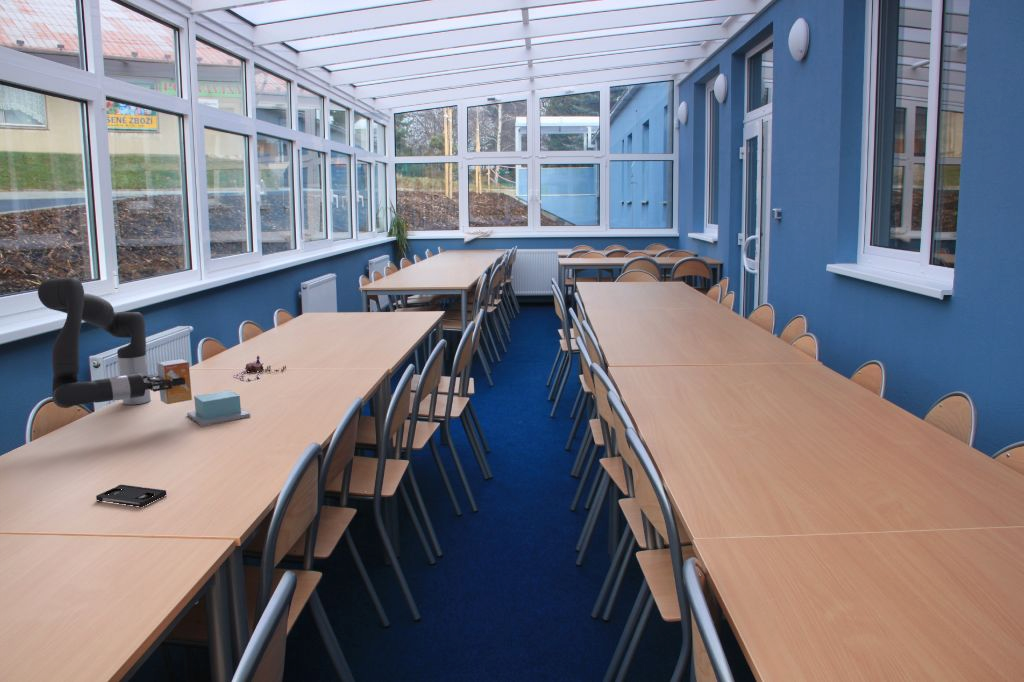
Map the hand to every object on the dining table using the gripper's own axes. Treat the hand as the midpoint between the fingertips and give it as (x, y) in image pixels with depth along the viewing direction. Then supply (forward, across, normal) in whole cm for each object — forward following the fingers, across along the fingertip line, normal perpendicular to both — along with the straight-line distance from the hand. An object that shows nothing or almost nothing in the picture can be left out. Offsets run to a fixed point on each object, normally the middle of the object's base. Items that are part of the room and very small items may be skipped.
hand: (181, 378), depth 250 cm
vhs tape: (-29, -61, +15) cm, 69 cm away
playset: (+44, +54, +16) cm, 71 cm away
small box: (-2, 0, +7) cm, 8 cm away
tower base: (+11, 0, +15) cm, 18 cm away
